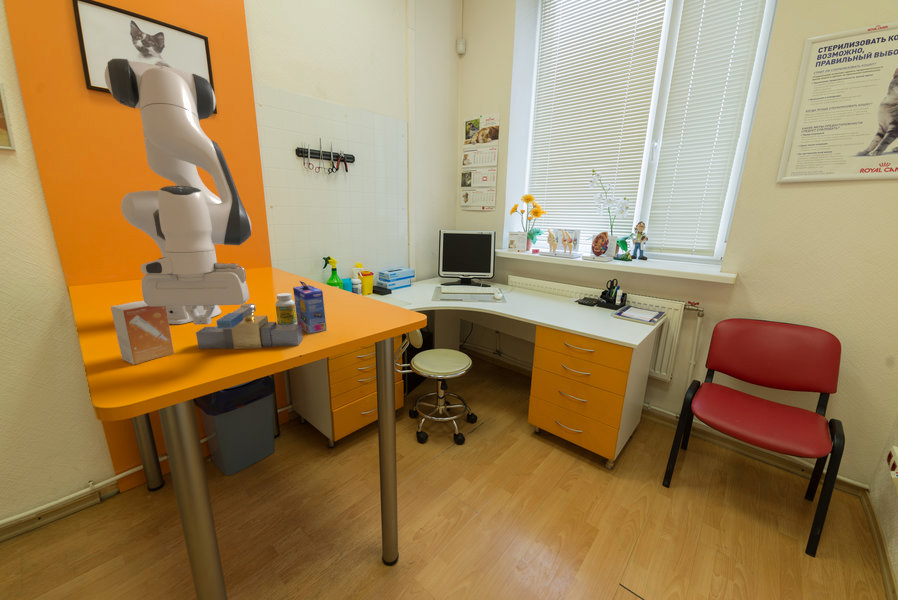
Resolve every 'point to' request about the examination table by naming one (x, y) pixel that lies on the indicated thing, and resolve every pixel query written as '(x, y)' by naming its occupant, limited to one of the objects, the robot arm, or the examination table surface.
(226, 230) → the robot arm
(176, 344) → the examination table surface
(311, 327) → the ink cartridge box
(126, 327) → the small box
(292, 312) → the supplement bottle
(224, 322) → the lever
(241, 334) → the valve pipe
